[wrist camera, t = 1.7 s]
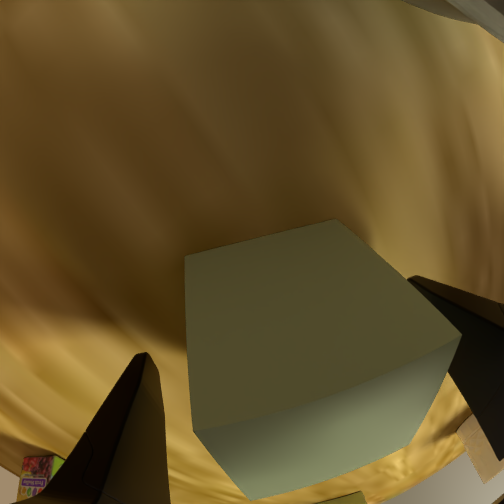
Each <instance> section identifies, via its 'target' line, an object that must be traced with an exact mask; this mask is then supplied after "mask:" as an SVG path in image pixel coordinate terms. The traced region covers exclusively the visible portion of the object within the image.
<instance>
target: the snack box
mask: <svg viewBox="0 0 504 504" xmlns="http://www.w3.org/2000/svg"><path fill="white" fill-rule="evenodd" d="M64 462H65V460H63V459H61V458H59V457H58V456H55V455H54V456H51V457H25V458H24V461H23V465H22V470H21V476H20V481H19V488H18V494H17V501H16V502H18V501H21V500H24V499H27V498H30V497H33V496H35V495H37V494H38V493H39V492H41V491H42V490H43V489H44V488H45V486H46V485H47V484H48V483H49V481H50V480H51V479H52V477H53V476H54V475H55V473H56V472H57V471H58V469H59V468H60V467H61V466H62V464H63V463H64Z"/></svg>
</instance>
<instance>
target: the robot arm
mask: <svg viewBox="0 0 504 504" xmlns="http://www.w3.org/2000/svg"><path fill="white" fill-rule="evenodd" d="M407 281H408V282H409V283H410V284H411V285H413V286H414V287H415V288H416V289H417V290H418V291H419V292H420V293H421V294H422V295H423V296H424V297H425V298H426V299H427V300H428V301H429V302H430V303H431V304H432V305H433V306H434V307H435V308H436V309H437V310H438V311H439V312H440V313H441V314H442V315H443V316H444V317H445V318H446V319H447V320H448V321H449V322H450V323H451V324H452V325H453V326H454V327H455V328H456V329H457V330H458V331H459V332H460V333H461V334H462V336H461V339H460V342H459V344H458V347H457V349H456V352H455V354H454V357H453V359H452V362H451V364H450V366H449V369H448V373H449V374H450V376H451V378H452V379H453V381H454V382H455V384H456V386H457V387H458V389H459V390H460V392H461V394H462V395H463V397H464V399H465V400H466V402H467V404H468V405H469V407H470V409H471V411H472V412H473V414H474V416H475V418H476V419H477V421H478V423H479V425H480V427H481V429H482V430H483V432H484V434H485V436H486V438H487V440H488V441H489V443H490V445H491V447H492V449H493V451H494V453H495V455H496V457H497V459H498V460H499V462H500V461H501V460H502V459H504V304H501V303H497V302H495V301H492V300H489V299H486V298H484V297H481V296H478V295H475V294H472V293H469V292H466V291H463V290H460V289H457V288H454V287H451V286H448V285H445V284H442V283H439V282H436V281H433V280H430V279H427V278H424V277H421V276H418V275H415V276H413V277H410V278H408V279H407ZM12 504H171V502H170V492H169V481H168V468H167V453H166V432H165V413H164V405H163V399H162V391H161V384H160V376H159V371H158V368H157V367H156V365H155V363H154V361H153V360H152V358H151V356H150V355H149V353H147V352H144V353H138V354H136V355H135V356H134V357H133V359H132V360H131V362H130V363H129V365H128V366H127V367H126V369H125V370H124V372H123V373H122V375H121V376H120V378H119V379H118V381H117V382H116V384H115V386H114V387H113V389H112V390H111V392H110V393H109V395H108V396H107V398H106V399H105V401H104V402H103V404H102V405H101V407H100V408H99V410H98V412H97V413H96V415H95V416H94V418H93V419H92V421H91V423H90V424H89V426H88V427H87V429H86V432H84V433H83V435H82V437H81V438H80V440H79V441H78V443H77V444H76V446H75V447H74V449H73V450H72V452H71V453H70V455H69V456H68V457H67V459H66V460H65V462H64V463H63V464H62V466H61V467H60V468H59V469H58V471H57V472H56V473H55V475H54V476H53V477H52V479H51V480H50V481H49V483H48V484H47V485H46V486H45V488H44V489H43V490H42V491H41V492H39V493H38V494H37V495H35V496H33V497H30V498H27V499H24V500H21V501H18V502H15V503H12ZM492 504H504V494H502V496H500V497H499V498H498V499H497V500H495V501H494V502H493V503H492Z"/></svg>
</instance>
